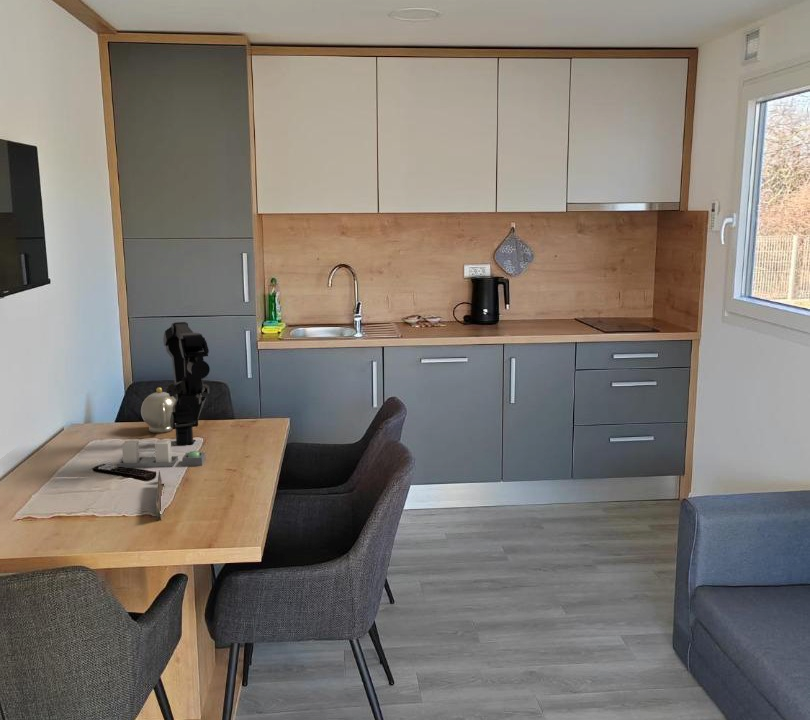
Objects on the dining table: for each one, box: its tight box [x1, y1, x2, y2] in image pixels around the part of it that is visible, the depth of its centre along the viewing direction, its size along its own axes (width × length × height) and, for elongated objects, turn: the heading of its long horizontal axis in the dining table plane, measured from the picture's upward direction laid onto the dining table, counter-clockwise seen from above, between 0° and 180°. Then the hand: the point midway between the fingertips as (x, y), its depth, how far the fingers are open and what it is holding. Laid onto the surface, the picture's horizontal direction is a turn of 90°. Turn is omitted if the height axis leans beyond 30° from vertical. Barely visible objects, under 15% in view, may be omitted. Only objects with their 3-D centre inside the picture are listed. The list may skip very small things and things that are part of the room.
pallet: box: [116, 455, 179, 469], centre depth 253 cm, size 8×17×2 cm, turn 93°
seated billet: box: [154, 439, 173, 463], centre depth 252 cm, size 4×4×7 cm
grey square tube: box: [181, 452, 207, 467], centre depth 253 cm, size 6×6×4 cm
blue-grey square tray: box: [119, 449, 155, 461], centre depth 262 cm, size 10×10×1 cm
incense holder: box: [155, 470, 165, 522], centre depth 221 cm, size 30×1×5 cm, turn 15°
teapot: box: [140, 387, 176, 434], centre depth 294 cm, size 18×14×16 cm
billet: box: [121, 440, 141, 463], centre depth 252 cm, size 4×4×7 cm
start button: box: [187, 450, 200, 457], centre depth 253 cm, size 3×3×3 cm
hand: (195, 420), depth 259 cm, fingers closed
